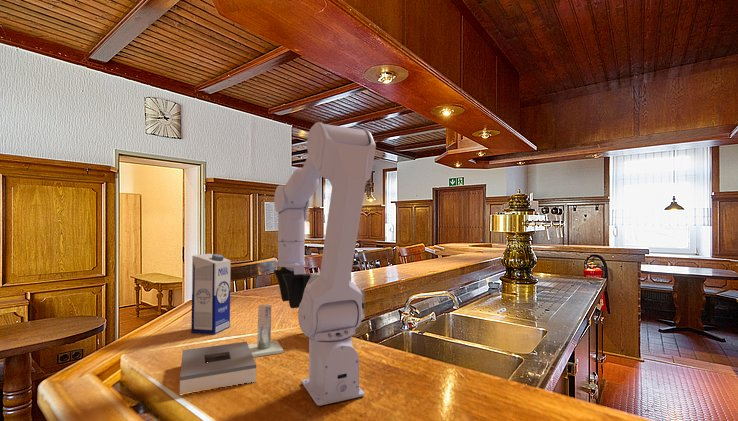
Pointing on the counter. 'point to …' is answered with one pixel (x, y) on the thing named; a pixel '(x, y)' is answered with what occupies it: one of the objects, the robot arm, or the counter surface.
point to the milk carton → (210, 293)
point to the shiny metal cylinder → (264, 326)
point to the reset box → (216, 367)
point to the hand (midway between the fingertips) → (291, 304)
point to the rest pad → (273, 349)
